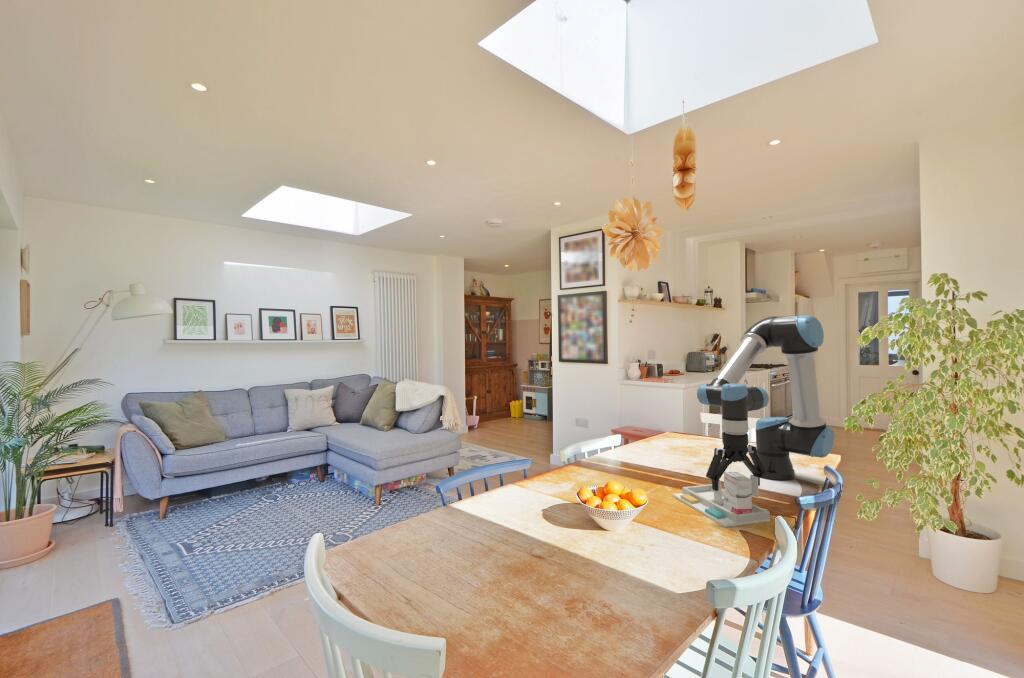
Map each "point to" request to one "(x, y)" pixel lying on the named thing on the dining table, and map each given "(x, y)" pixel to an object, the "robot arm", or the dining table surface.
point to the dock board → (718, 507)
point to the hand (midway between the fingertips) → (736, 498)
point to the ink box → (737, 493)
